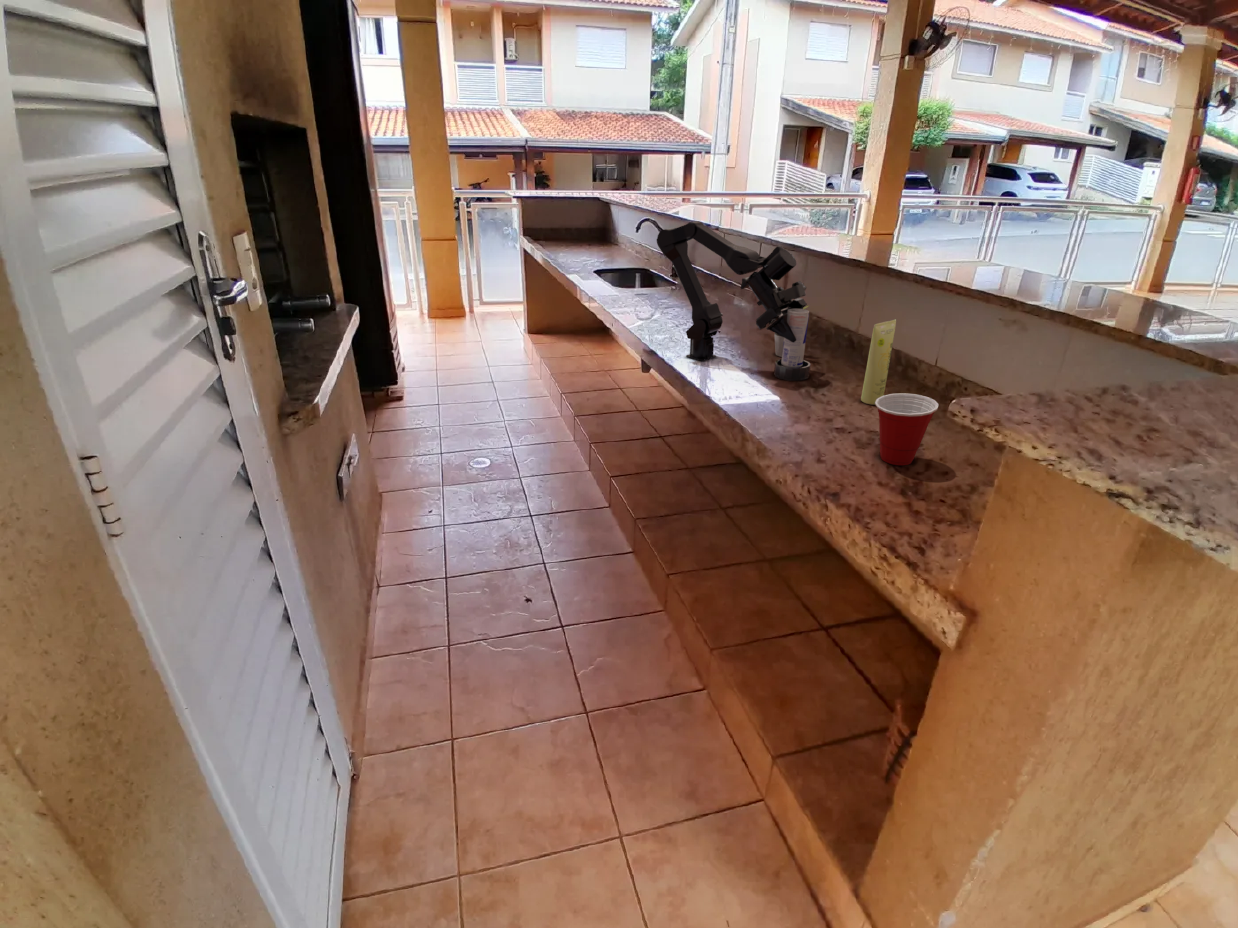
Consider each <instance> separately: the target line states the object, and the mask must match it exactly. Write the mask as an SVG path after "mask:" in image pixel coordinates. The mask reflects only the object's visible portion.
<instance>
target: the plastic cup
mask: <svg viewBox="0 0 1238 928" xmlns="http://www.w3.org/2000/svg"><path fill="white" fill-rule="evenodd" d="M939 405H940V404H939V403H938V401H936V400H935V399H933V398H932V397H928V396H925V395H921V394H916V393H905V392H903V393H902V392H901V393H889V394H886V395H885V394H884V396H882V397H880V398H878V399H877V400H876V402H875V406H876V409H877V412H878V417H879V419H878V420H879V421H878V422H879V423H878V425H879V455H880V459H881V460H882V461H883V462H885V463H887V464H890V465H893V466H894V465H895V466H908V465H911V464H912V463H913V461H914V459H915V457H916V454H917V451H918V449H919V448H920V447H921V443H922V441H923V438H924V436H925V434H926V431H927V429H928V427H929V424H930V423H931V420H932V418H933V416H934V414H935V412H937V411H938V408H939Z"/></svg>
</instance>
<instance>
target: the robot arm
mask: <svg viewBox="0 0 1238 928" xmlns="http://www.w3.org/2000/svg"><path fill="white" fill-rule="evenodd" d="M691 240H694V241H696V242H697V243H699V244H700V245H702V246H704V247H705V248H707V249H708V250H710V251H711V252H713V254H716V255H717V256H720V257H721V258H722V260H724V262H725V263H726V265H727V267H728V268H729V269H730V270H731V271H732V272H734V273H735V274H736V275H738V276H744V275H747V274H750V275H749V276H748V277H742V279H741V284H740V289H741V290H744V289H748V288H749V289H750V290H751V291H752V293H753V294H754V295H755V297H756V298H757V300H758V301H757V302H756V304H757V305H758V306H762V307H763V308H764V310H765V311H764V312H763V313H762V314H761V315H760V316H759V317H757V318H756V320H755V325H756V326H757V328H758V329H759V331H761V330H763V329H766V330H767V331H770V332H772V333H774V334H775V333H777V334H778V335H780V336H782V337H784V338H786V339H788V340H789V341H791V342H795V341H796V338H795V335H794V334H793V332H792V330H791V328H790V326H789V324H788V323H787V315H788V314H787V313H788V310H789V309H803V308H804V307H806V306H808V303H807V302H806V300H805V299H804V298H802V297H805V296H807V293H806V290H807V286H806V285H805V283H804V282H802V281H801V280H798V281H796V282H792V284H791V287H789V288H786V289H784V288H783V287H782V286H777V285H776V283H775V282H774V281H780V280H781V279H783V278H784V277H785V276H786V275H787V274H788V273H789V272H791V270H793V269H794V268H795V267H796V266H797V259H796V258H795V256H794V255H793V254H792V253H791V252H790V251H788V250H787V249H785V248H783V246H782V245H777V246H776V247H775V248H774V249H773V250H772V251H771V253H769V254H768V255H767V256H762V255H760V254H759V253H758V252H757V251H756V250H753V249H752V248H748V247H746V246H742V245H738V244H735V243H733V242H731V241H729V240H728V239H727V238H725V237H723V236H722V235H720V234H718V233H717V232H715V231H714V230H713V229H711V228H709V226H706V225H705V224H704V223H703V222H701V221H700V220H698V221H697V220H696V221H689V222H688V223H685V224H683V225H681V226H677V227H671V228H663V229H662V230H660V231H659V232H658V234H657V238H656V245H657V247H658V248H659V250H660V251H661V253H662V255H663V256H664V257H666V259H668V260H669V261H670V262H671V263H672V265H673V268H674V270H675V273H676V275H677V277H678V279H679V281H680V283H681V286H682V289H683V290H684V292H685V295H686V297H687V299H688V302H689V305H690V306H691V320H692V321H691V322H692V325H691V326H690V327H689V328H688V329H687V330H685V334H686V337H687V339H688V340H689V354H686V355H685V357H686V358H688V359H692V360H696V361H701V362H704V361H707V360H710V359H713V358H716V356H717V355H716V354H714V352H715V351H714V349H715V348H714V347H715V344H714V343H715V342H714V336H717V333H718V331H719V330H720V329H721V327H722V325H723V321H724V320H723V318H722V317H723V316H724V315H723V313H722V312H721V310H720V308H719V304H718V303H717V302H715V303H711V302H710V301H709V299H708V298H707V296H706V293H705V292H704V289H703V287H702V284H701V282H700V280H699V278H698V275H697V272H696V271H695V269H694V266H693V264H692V262H691V260H690V257H689V254H688V250H689V241H691ZM758 269H760V270H759V271H757V270H758ZM767 325H768V326H767Z"/></svg>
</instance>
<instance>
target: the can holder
mask: <svg viewBox="0 0 1238 928" xmlns="http://www.w3.org/2000/svg"><path fill="white" fill-rule="evenodd" d="M781 361H782V358H780V359H777V360H775V362H774V369H773V375H774V377H776V378H777V379H780V380H784V381H790V382H798V381H805V380H808V379H809V378H810V375H811V373H810V372H811V365H812V364H811V363H810V361H807V360H805V359H803V364H802V366H801V367H798V368H792V367H785V366H783V365H782V364H781Z"/></svg>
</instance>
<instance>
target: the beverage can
mask: <svg viewBox="0 0 1238 928" xmlns="http://www.w3.org/2000/svg"><path fill="white" fill-rule="evenodd" d="M787 314H788V315H787V323H788V324H789V326H790V328H791V330H792V332H793V334H794V335H795V338H796V341H795V342H791V341H789V340H788V339H786V338H784V344H783V352H782V357H781V359H782V361H781V364H782V365H783V366H785V367H792V368H798V367H801V366H802V364H803V360H804V356H805V350H806V342H807V335H808V326H809V318H810V310H808V309H789V310H788V313H787Z"/></svg>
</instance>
